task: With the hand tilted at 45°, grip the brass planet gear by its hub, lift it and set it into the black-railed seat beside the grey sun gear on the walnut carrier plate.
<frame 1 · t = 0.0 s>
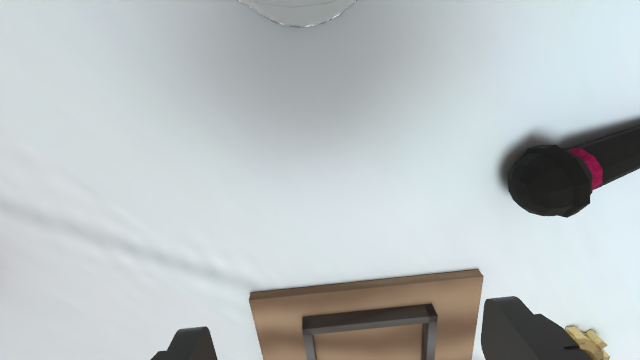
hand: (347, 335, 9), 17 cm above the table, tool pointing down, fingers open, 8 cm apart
microphone: (608, 147, 26), on the table
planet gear: (563, 351, 36), on the table
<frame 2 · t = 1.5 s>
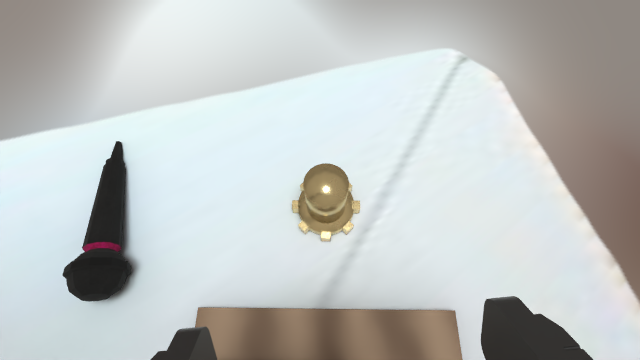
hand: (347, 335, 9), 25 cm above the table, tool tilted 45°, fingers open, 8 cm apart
microphone: (124, 217, 38), on the table
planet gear: (325, 209, 37), on the table
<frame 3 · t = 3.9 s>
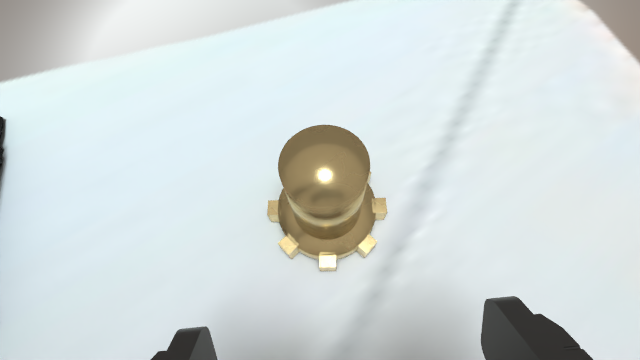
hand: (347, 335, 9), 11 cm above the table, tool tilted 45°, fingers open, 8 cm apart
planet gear: (327, 213, 22), on the table
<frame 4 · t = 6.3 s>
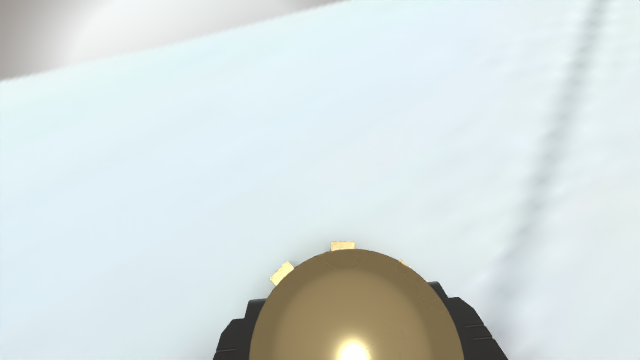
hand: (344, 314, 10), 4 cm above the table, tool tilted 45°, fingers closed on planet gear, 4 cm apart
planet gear: (345, 341, 13), on the table, touching gripper
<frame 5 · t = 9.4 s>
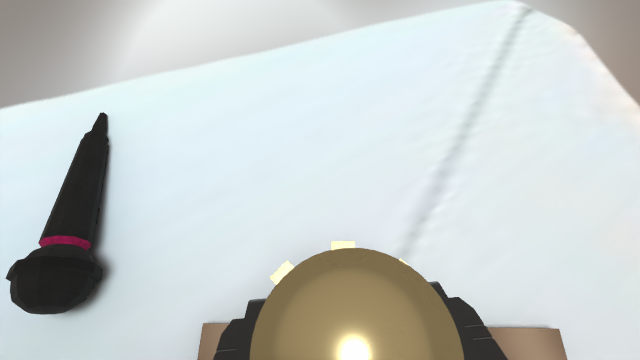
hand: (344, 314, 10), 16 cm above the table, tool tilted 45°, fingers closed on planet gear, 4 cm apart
microphone: (102, 205, 30), on the table
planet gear: (345, 340, 13), point 12 cm above the table, touching gripper
when the fingers open (7 cm above the table, at t = 12.8 s): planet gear drops 2 cm, resting on carrier plate.
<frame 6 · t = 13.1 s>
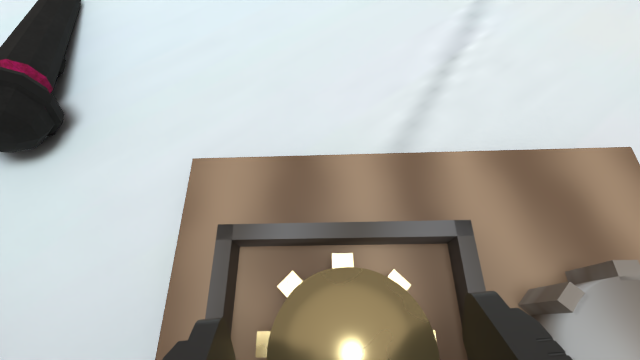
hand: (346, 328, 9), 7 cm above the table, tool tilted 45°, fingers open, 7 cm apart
microphone: (70, 62, 26), on the table
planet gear: (344, 342, 15), point 1 cm above the table, touching carrier plate
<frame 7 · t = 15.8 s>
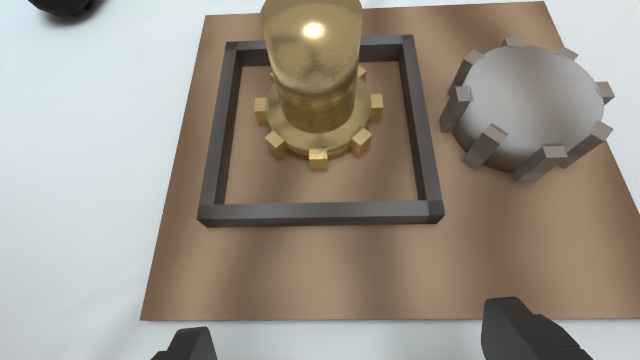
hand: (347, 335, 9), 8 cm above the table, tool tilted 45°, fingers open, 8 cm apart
carrier plate: (381, 136, 21), on the table
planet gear: (319, 117, 20), point 1 cm above the table, touching carrier plate
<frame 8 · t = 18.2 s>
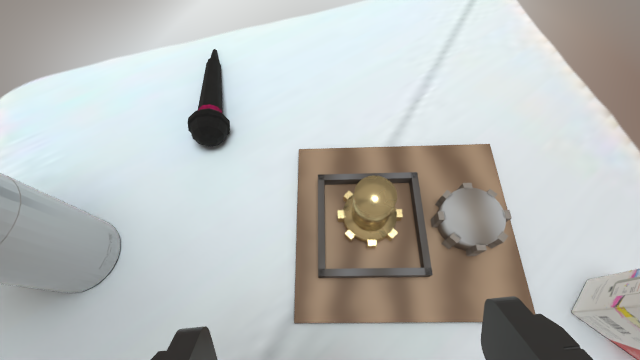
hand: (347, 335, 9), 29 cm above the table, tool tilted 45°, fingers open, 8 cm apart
ink cartridge box: (615, 321, 34), on the table
microphone: (220, 100, 50), on the table
carrier plate: (400, 226, 40), on the table
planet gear: (368, 217, 39), point 1 cm above the table, touching carrier plate
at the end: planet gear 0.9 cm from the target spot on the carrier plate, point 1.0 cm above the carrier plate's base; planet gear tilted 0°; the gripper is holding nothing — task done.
